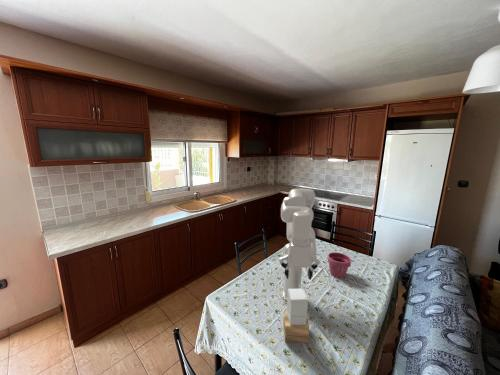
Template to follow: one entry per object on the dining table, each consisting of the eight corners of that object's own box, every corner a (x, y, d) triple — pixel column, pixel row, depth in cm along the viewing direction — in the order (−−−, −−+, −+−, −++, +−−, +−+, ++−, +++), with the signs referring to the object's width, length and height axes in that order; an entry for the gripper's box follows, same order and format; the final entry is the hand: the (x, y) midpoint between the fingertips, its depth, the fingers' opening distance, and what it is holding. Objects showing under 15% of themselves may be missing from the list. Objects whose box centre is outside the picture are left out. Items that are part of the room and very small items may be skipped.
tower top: (284, 316, 100) (284, 308, 99) (305, 318, 99) (306, 311, 98) (285, 334, 90) (285, 326, 90) (308, 337, 89) (309, 329, 88)
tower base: (283, 324, 100) (283, 316, 100) (304, 325, 99) (304, 318, 99) (284, 342, 90) (285, 335, 90) (308, 345, 90) (308, 337, 89)
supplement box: (301, 312, 97) (303, 288, 95) (306, 325, 90) (308, 299, 88) (286, 312, 97) (287, 288, 95) (289, 325, 90) (291, 299, 88)
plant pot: (344, 269, 147) (346, 252, 144) (352, 281, 133) (354, 263, 130) (324, 267, 148) (325, 251, 146) (329, 280, 134) (331, 262, 132)
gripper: (319, 237, 90) (316, 273, 94) (279, 236, 91) (277, 271, 95) (324, 246, 83) (320, 283, 86) (280, 244, 84) (278, 281, 87)
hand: (298, 277), depth 91 cm, fingers open, 9 cm apart
